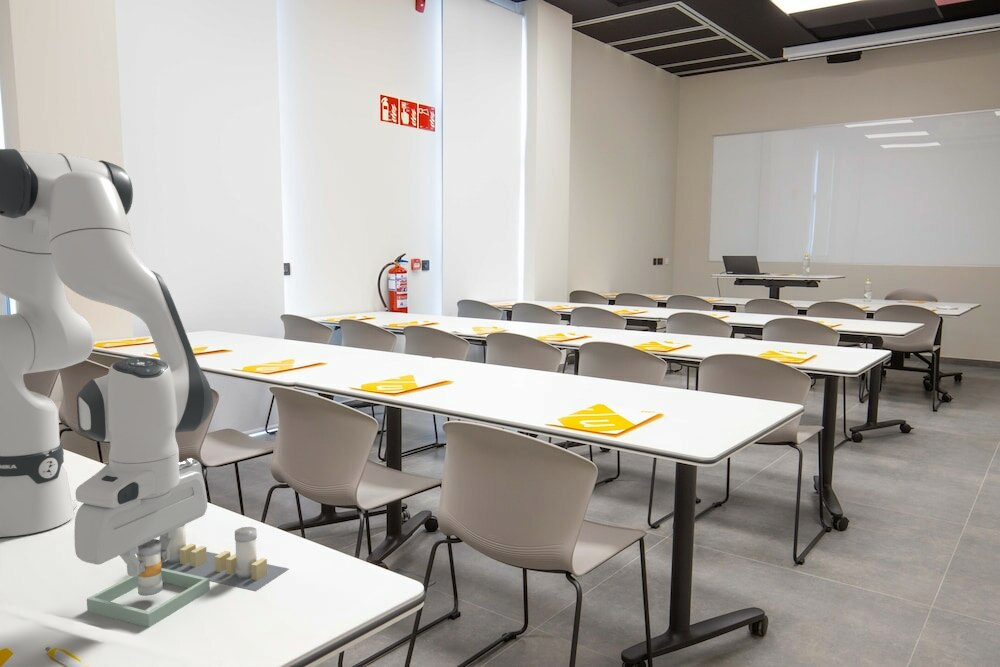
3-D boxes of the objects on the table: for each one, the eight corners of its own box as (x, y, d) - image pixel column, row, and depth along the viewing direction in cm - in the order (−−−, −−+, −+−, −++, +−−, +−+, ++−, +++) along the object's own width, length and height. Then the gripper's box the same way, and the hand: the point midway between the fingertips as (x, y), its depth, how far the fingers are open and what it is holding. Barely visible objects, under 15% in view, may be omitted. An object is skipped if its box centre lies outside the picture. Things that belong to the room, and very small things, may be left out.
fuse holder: (133, 570, 115) (132, 549, 115) (171, 551, 122) (170, 530, 122) (256, 598, 107) (255, 575, 106) (289, 575, 114) (289, 554, 114)
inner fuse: (161, 560, 116) (159, 519, 115) (176, 553, 119) (174, 512, 118) (176, 564, 115) (175, 522, 114) (191, 556, 118) (190, 515, 117)
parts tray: (87, 619, 100) (86, 598, 100) (151, 584, 111) (151, 565, 110) (149, 635, 96) (148, 614, 96) (210, 597, 107) (209, 578, 106)
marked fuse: (132, 593, 102) (130, 546, 101) (150, 583, 105) (148, 537, 104) (150, 597, 101) (148, 549, 100) (167, 587, 104) (166, 541, 103)
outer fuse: (231, 576, 111) (230, 532, 110) (245, 567, 114) (244, 525, 113) (248, 580, 110) (247, 536, 109) (261, 571, 113) (260, 528, 112)
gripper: (183, 452, 112) (186, 537, 114) (63, 493, 93) (69, 595, 94) (216, 457, 110) (218, 543, 111) (100, 500, 91) (105, 604, 92)
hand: (149, 567), depth 103 cm, fingers closed on marked fuse, 3 cm apart
